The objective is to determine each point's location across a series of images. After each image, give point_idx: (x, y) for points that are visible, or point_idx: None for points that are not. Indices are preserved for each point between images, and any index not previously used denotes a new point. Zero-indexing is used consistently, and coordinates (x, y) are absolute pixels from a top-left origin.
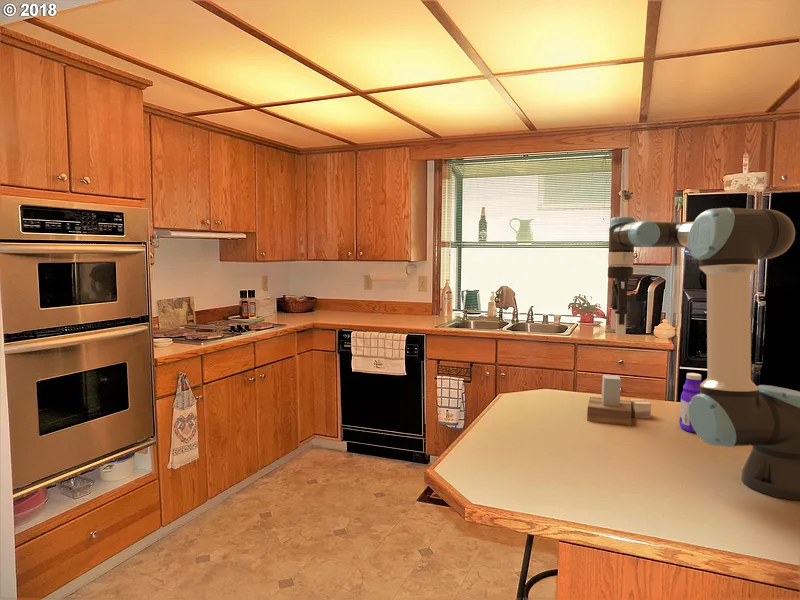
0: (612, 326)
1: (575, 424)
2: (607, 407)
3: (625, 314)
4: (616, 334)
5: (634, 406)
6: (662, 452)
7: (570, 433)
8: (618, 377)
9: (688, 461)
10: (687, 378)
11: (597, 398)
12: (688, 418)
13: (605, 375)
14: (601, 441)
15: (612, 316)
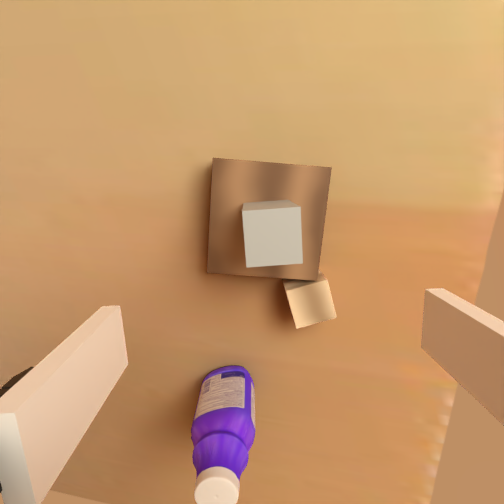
0: (437, 305)
1: (170, 128)
2: (225, 213)
3: (6, 501)
4: (100, 309)
5: (292, 285)
6: (45, 308)
7: (88, 115)
8: (274, 261)
9: (14, 346)
10: (209, 467)
11: (318, 189)
12: (201, 392)
13: (292, 216)
14: (59, 189)
15: (500, 343)
